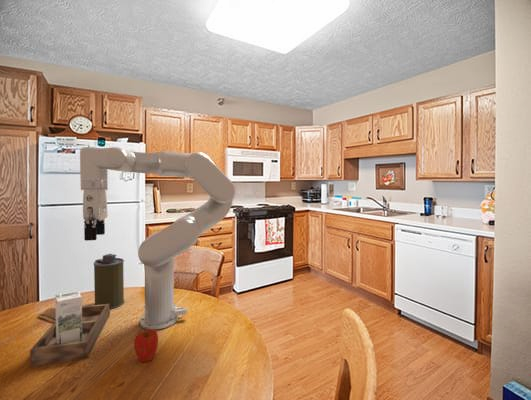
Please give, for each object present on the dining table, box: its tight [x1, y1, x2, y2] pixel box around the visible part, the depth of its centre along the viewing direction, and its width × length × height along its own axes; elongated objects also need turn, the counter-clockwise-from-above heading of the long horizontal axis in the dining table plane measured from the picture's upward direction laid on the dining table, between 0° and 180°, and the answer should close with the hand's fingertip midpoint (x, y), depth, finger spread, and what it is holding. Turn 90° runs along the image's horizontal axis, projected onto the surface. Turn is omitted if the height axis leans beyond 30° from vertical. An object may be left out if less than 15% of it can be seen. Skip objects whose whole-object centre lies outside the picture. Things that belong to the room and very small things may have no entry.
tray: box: [29, 304, 111, 367], centre depth 85 cm, size 13×25×4 cm, turn 17°
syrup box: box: [54, 290, 83, 344], centre depth 79 cm, size 6×6×14 cm
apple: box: [133, 329, 159, 363], centre depth 75 cm, size 6×6×8 cm
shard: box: [38, 307, 56, 324], centre depth 97 cm, size 11×8×2 cm
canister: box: [93, 253, 125, 310], centre depth 108 cm, size 11×10×20 cm
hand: (95, 237), depth 90 cm, fingers open, 9 cm apart
